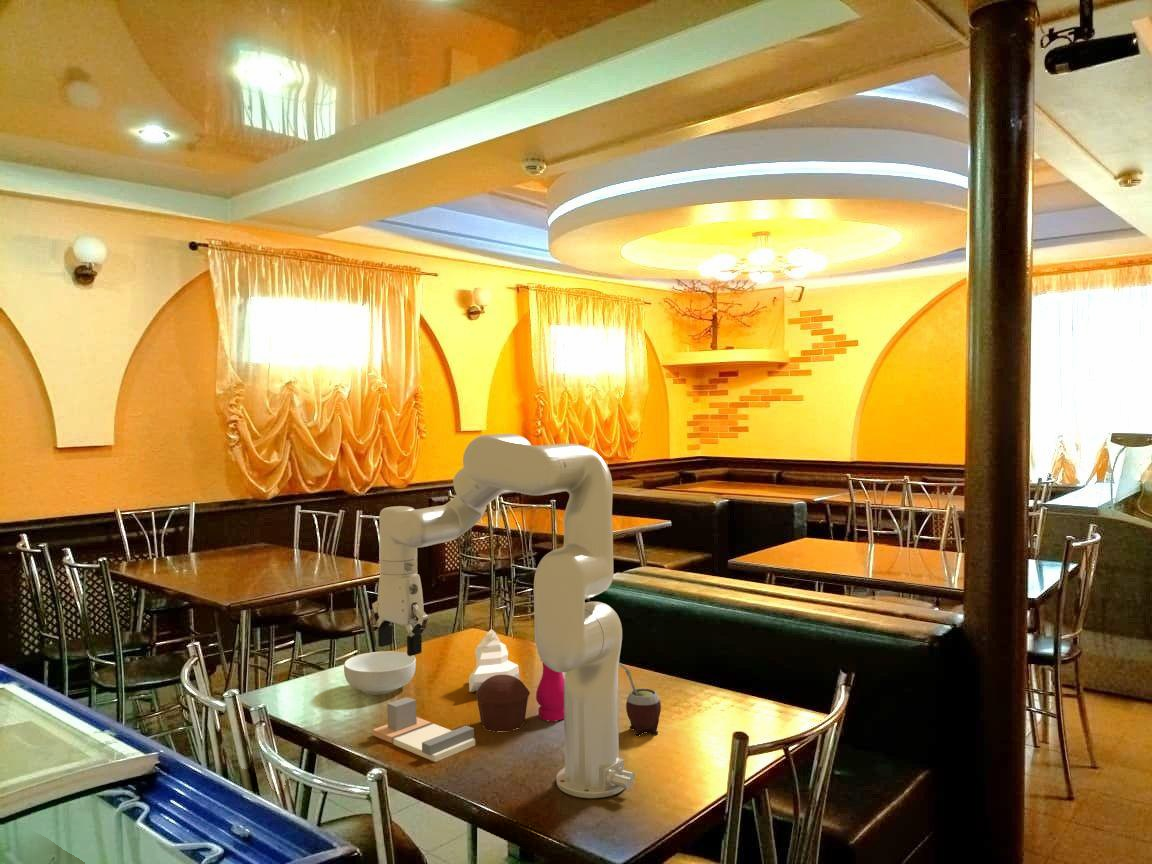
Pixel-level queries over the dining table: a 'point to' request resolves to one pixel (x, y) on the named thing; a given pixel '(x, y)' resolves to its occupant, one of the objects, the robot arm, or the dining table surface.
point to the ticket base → (427, 735)
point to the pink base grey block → (400, 720)
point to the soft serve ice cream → (491, 661)
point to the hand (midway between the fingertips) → (399, 649)
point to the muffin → (502, 703)
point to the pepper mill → (551, 695)
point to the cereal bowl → (379, 671)
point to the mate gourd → (642, 708)
